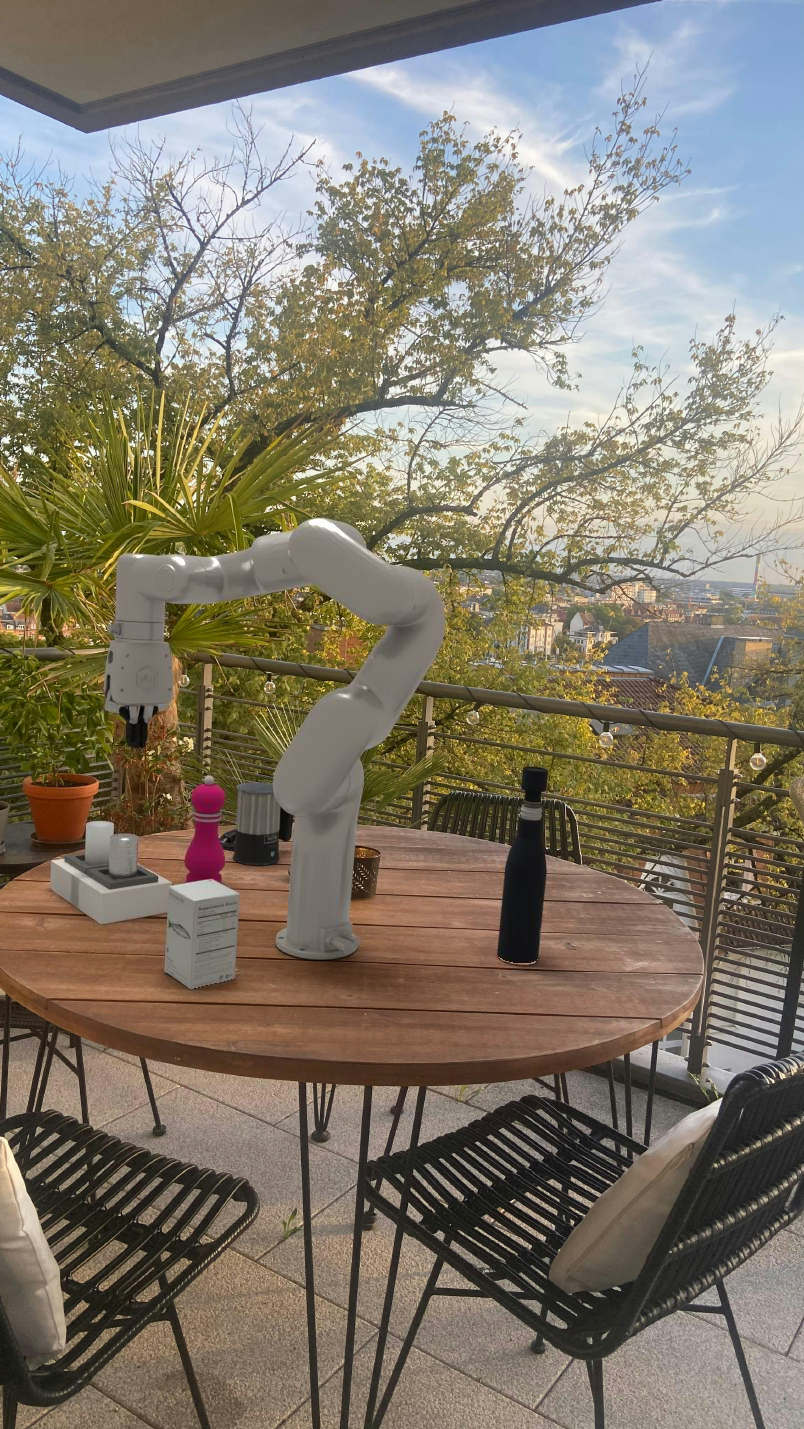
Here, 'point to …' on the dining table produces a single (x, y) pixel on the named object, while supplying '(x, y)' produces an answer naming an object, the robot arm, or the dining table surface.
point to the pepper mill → (206, 834)
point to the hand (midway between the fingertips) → (136, 746)
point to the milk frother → (258, 826)
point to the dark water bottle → (525, 877)
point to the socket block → (107, 882)
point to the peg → (123, 856)
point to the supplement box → (201, 933)
